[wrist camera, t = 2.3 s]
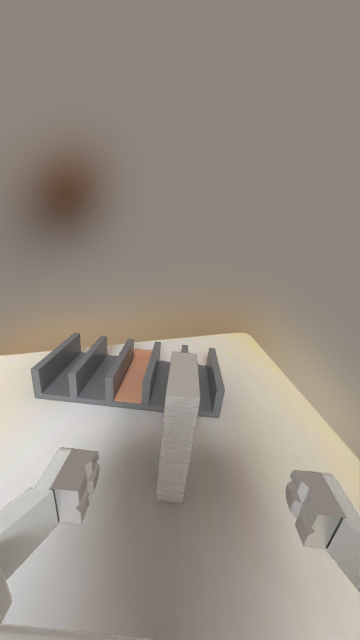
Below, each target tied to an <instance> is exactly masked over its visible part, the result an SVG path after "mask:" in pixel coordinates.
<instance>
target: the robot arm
mask: <svg viewBox="0 0 360 640" xmlns="http://www.w3.org/2000/svg"><path fill="white" fill-rule="evenodd" d="M98 458H99V455H98V452H97V451H89V450H81V449H73V448H64V447H61V448H60V449H59V450H58V451H57V453H56V455H55V456H54V458H53V459H52V461H51V463H50V464H49V466H48V467H47V469H46V470H45V472H44V474H43V475H42V477H41V478H40V480H39V482H38V483H37V485H36V486H35V488H30V489H28V490H27V491H26V492H24V493H23V494H22V495H20V496H19V497H18V498H16V499H15V500H13V501H12V502H11V503H9V504H8V505H7V506H5V507H4V508H3V509H1V510H0V640H156V639H146V638H137V637H127V636H117V635H108V634H98V633H88V632H78V631H69V630H59V629H49V628H40V627H30V626H20V625H10V624H1V623H2V621H3V619H4V617H5V615H6V613H7V611H8V609H9V607H10V604H11V602H12V599H11V594H10V591H9V588H8V585H7V582H6V580H7V579H8V578H9V577H10V576H11V575H12V574H13V573H14V571H15V570H16V569H17V568H18V567H19V566H20V565H21V564H22V563H23V562H24V561H25V560H26V559H27V558H28V556H29V555H30V554H31V553H32V552H33V551H34V550H35V549H36V548H37V547H38V546H39V545H40V544H41V543H42V541H43V540H44V539H45V538H46V537H47V536H48V535H49V534H50V533H51V532H52V531H53V530H54V529H55V528H56V527H57V525H58V523H72V524H82V521H83V519H84V516H85V513H86V511H87V508H88V506H89V496H90V495H91V494H92V493H93V492H94V490H95V487H96V484H97V480H98V476H99V464H98V463H97V460H98ZM290 477H291V479H292V481H290V482H289V483H288V484H287V487H286V499H287V504H288V507H289V509H290V511H291V513H292V514H293V515H294V516H295V517H296V523H295V525H296V528H297V531H298V533H299V536H300V539H301V541H302V544H303V546H305V547H313V548H320V549H327V552H328V553H329V555H330V556H331V557H332V558H333V560H334V561H335V562H336V563H337V565H338V566H339V567H340V568H341V570H342V571H343V572H344V574H345V575H346V576H347V577H348V579H349V580H350V581H351V582H352V584H353V585H354V586H355V587H356V589H357V590H358V591H359V592H360V516H359V515H358V513H357V512H356V510H355V508H354V507H353V505H352V504H351V502H350V500H349V499H348V497H347V496H346V494H345V492H344V491H343V489H342V487H341V486H340V484H339V483H338V481H337V479H336V478H335V477H334V476H333V475H332V474H329V473H318V472H311V471H299V470H294V471H292V473H291V475H290Z"/></svg>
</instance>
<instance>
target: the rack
mask: <svg viewBox="0 0 360 640" xmlns="http://www.w3.org/2000/svg"><path fill="white" fill-rule="evenodd" d="M160 347H161V342H155V344H154V347H153V350H152V351H151V350H142V349H134V340H133V339H128V340H127V342H126V344H125V345H124V347H123V349H122V350H121V352H120V354H119V355H118V356H111V355H107V337H105V336H101V337H100V338H99V339H98V340H97V341H96V342H95V344H94V345H93V346H92V347H91V348H90V349H89V350H88V351H87V353H83V352H81V345H80V334H78V333H74V334H73V335H71V336H70V337H69V338H68V339H67V340H65V341H64V342H63V343H62V344H61V345H59V346H58V347H57V348H56V349H54V350H53V351H52V352H51V353H50V354H48V355H47V356H46V357H45V358H44V359H42V360H41V361H40V362H39V363H38V364H36V365H35V366H34V367H33V368H32V369H31V375H32V381H33V388H34V394H35V398H39V399H48V400H57V401H67V402H76V403H85V404H94V405H103V406H113V407H122V408H131V409H140V410H149V411H158V412H164V409H165V398H166V391H167V384H168V377H169V370H170V363H171V362H166V361H159V359H160ZM133 350H134V358H133ZM181 352H182V353H188V345H182V351H181ZM198 376H199V390H200V403H199V409H198V415H197V416H204V417H213V418H219V415H220V411H221V406H222V401H223V396H224V391H225V389H224V385H223V381H222V377H221V372H220V368H219V364H218V360H217V356H216V351H215V348H209V352H208V358H207V364H206V366H202V365H198Z"/></svg>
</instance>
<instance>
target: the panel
mask: <svg viewBox="0 0 360 640" xmlns="http://www.w3.org/2000/svg"><path fill="white" fill-rule="evenodd" d="M199 403H200V390H199V376H198V362H197V354H191V353H182V352H173V351H172V356H171V363H170V370H169V377H168V384H167V391H166V398H165V409H164V419H163V429H162V439H161V449H160V459H159V469H158V479H157V489H156V499H155V500H157V501H166V502H175V503H183V499H184V493H185V487H186V481H187V475H188V469H189V463H190V457H191V451H192V445H193V439H194V433H195V427H196V421H197V415H198V409H199Z"/></svg>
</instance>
